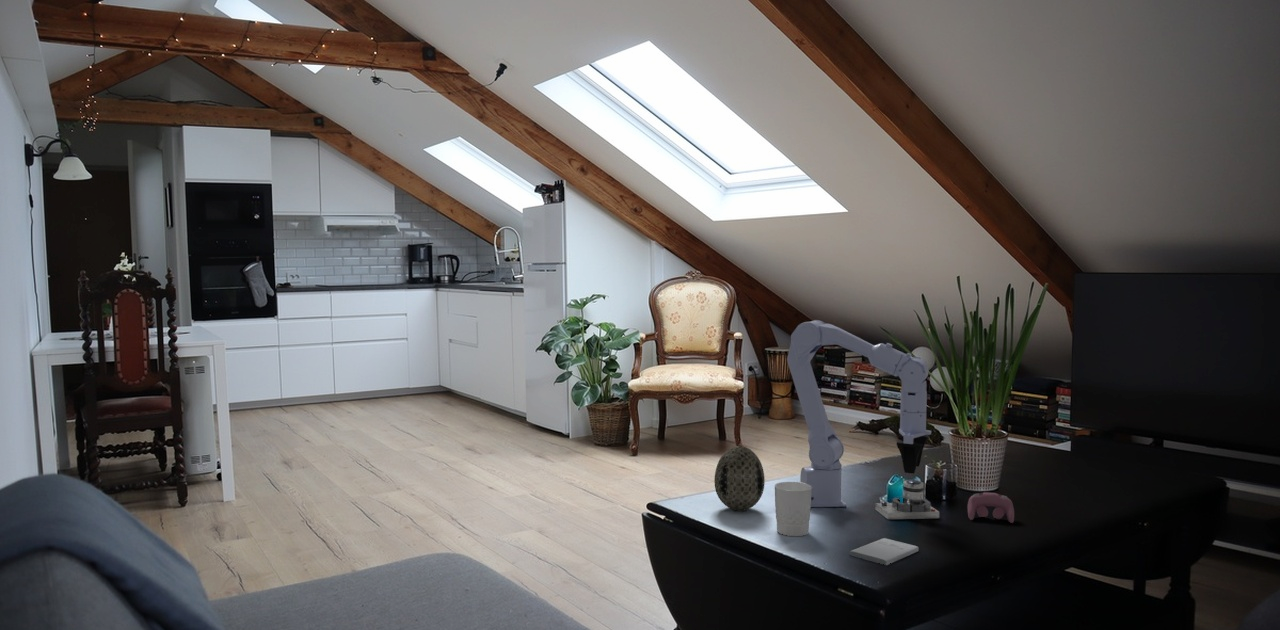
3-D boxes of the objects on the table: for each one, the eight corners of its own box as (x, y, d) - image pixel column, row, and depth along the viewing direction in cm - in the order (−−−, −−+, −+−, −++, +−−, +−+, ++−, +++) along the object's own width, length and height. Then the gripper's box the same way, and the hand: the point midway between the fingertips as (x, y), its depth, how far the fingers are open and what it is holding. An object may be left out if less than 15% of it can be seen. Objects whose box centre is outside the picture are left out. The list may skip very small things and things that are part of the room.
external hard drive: (849, 558, 177) (882, 544, 185) (886, 568, 171) (918, 553, 180) (849, 550, 177) (882, 536, 185) (886, 560, 171) (918, 545, 180)
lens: (920, 511, 203) (921, 485, 202) (900, 508, 205) (900, 482, 205) (925, 506, 207) (926, 481, 206) (905, 503, 209) (905, 478, 209)
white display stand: (887, 519, 202) (888, 506, 201) (875, 509, 209) (875, 497, 209) (939, 518, 203) (939, 505, 202) (924, 508, 211) (925, 496, 210)
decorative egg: (703, 509, 209) (704, 446, 208) (734, 500, 217) (734, 439, 216) (744, 519, 201) (745, 454, 200) (774, 509, 209) (775, 446, 208)
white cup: (802, 539, 186) (803, 492, 186) (768, 533, 191) (768, 487, 190) (816, 530, 193) (817, 484, 193) (782, 524, 197) (783, 480, 197)
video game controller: (1013, 527, 202) (1012, 496, 204) (1015, 523, 198) (1014, 491, 200) (966, 522, 205) (967, 492, 207) (967, 518, 201) (967, 488, 203)
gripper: (927, 417, 196) (926, 477, 197) (935, 407, 210) (933, 464, 210) (894, 414, 199) (893, 474, 200) (904, 405, 213) (903, 461, 213)
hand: (912, 469), depth 206 cm, fingers open, 7 cm apart
